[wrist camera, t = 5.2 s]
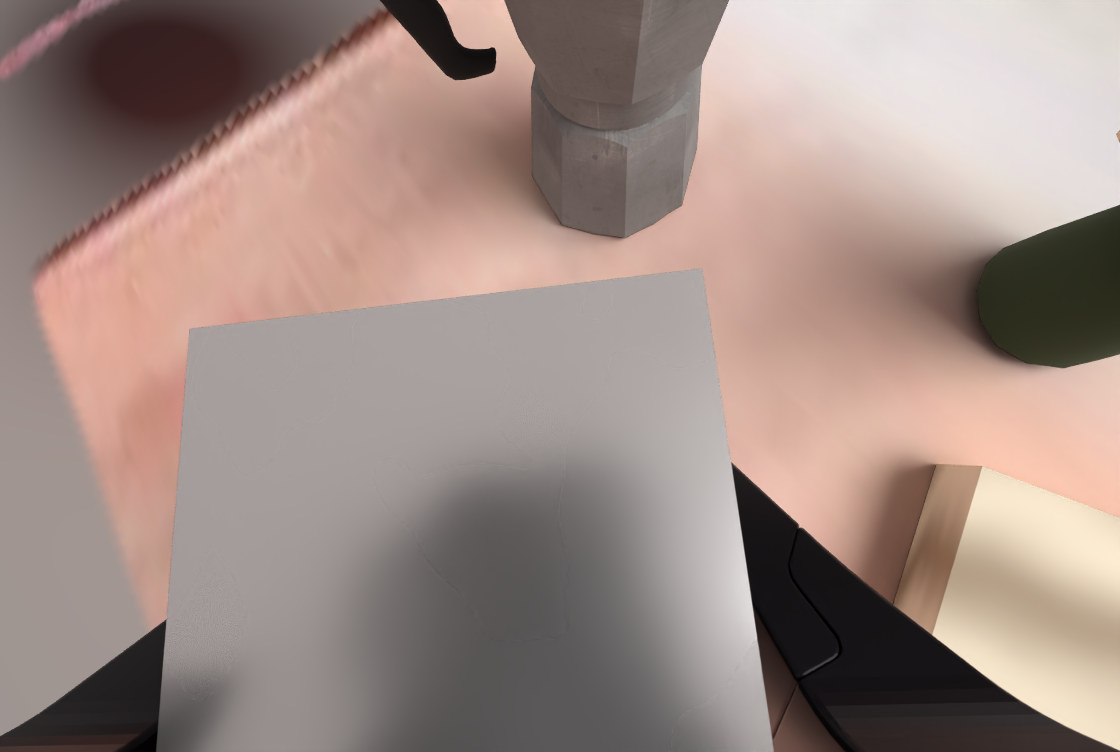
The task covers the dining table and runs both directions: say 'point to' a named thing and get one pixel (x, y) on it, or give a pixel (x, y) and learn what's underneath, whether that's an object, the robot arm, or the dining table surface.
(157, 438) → the dining table surface
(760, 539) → the robot arm
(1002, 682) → the stand
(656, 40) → the coffeepot
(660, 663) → the block
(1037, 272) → the character mug
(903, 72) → the dining table surface
